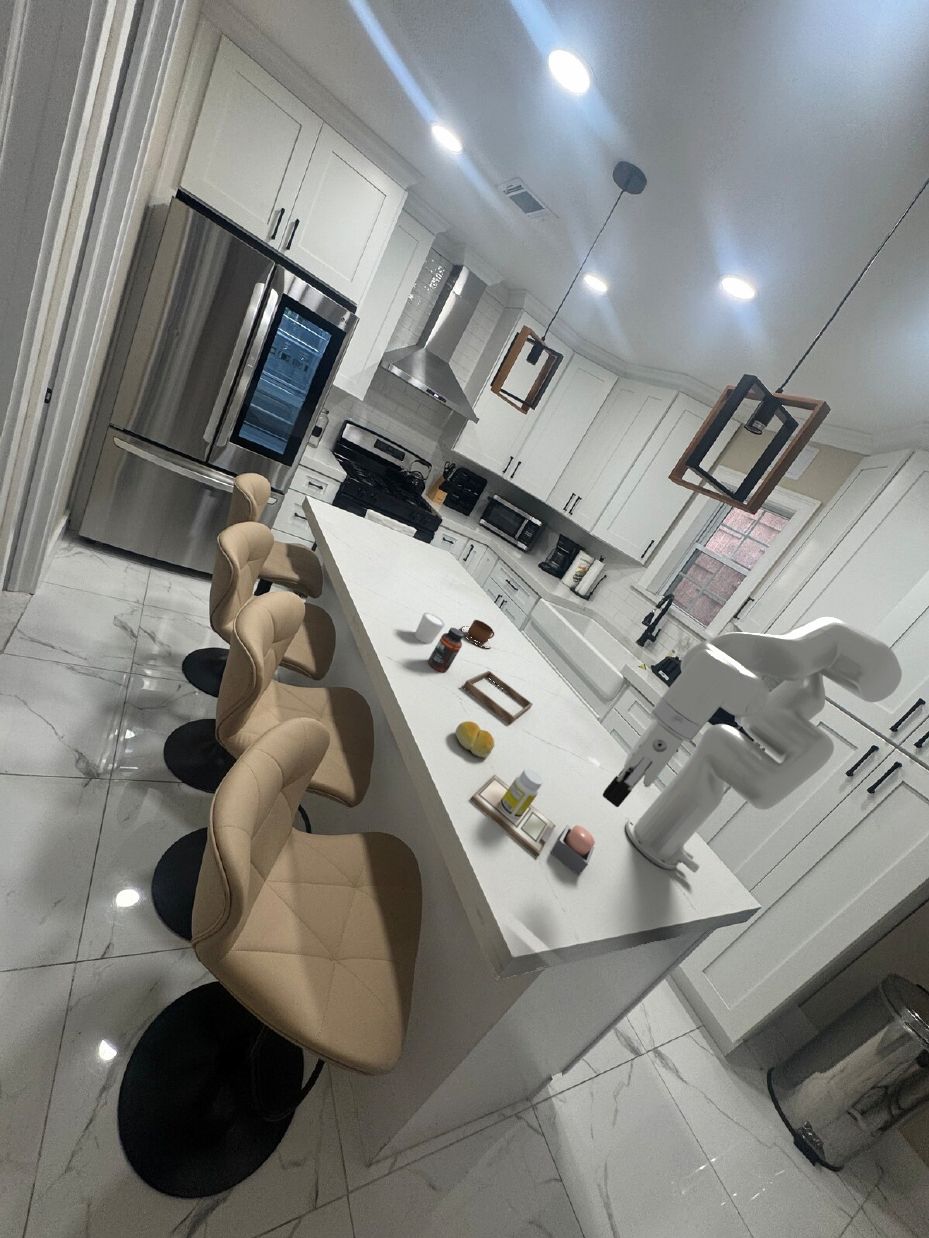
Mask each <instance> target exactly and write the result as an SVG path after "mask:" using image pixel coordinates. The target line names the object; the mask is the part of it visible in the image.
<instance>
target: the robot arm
mask: <svg viewBox="0 0 929 1238" xmlns="http://www.w3.org/2000/svg"><path fill="white" fill-rule="evenodd" d="M680 671H681V673H680V674H679V675H678V676H677V677H676V679H675V680H674V681H673V683H672V684H671V685H670V687H669V688H668V689H666V691H665V692H664V694H663V695H662V696H661V698H660V699H659V700H658V701H657V702H656V704H655V705H654V707H652V709H651V710H650V714H651V716H652V718H653V720H652V721H651V722H650V724H649V725H648V726H647V727H646V728H645V730H644V731H643V732H642V734H641V735H640V736H639V738H638V739H637V740H636V742H635V743H634V745H632V747H631V749H630V751H629V752H628V754H627V757H626V759H625V762H624V765H623V768H622V770H620V772H619V773H618V775H616V776H614V778H613V780H612V781H611V782H610V783H609V784H608V785H607V787H606V788H605V789H604V791H603V793H602V797H603V798H604V799H606V800H607V801H608V802H609V803H611V804H612V805H613V806H614V807H616V808H619V807H620V806H621V805H622V803H624V801H625V800H626V799H627V798H628V796H629V795H630V794H631V792H632V791H633V789H634V788H635V787H636V786H637V784H638V783H639V782H640V781H641V780H642V778H643V782H642V784H644V787H645V788H650V786H652V784H653V783H654V782H655V780H656V779H657V778H658V777H659V775H660V774H661V772H662V771H663V770H664V769H665V767H666V766H667V765H668V764H669V762H670V761H671V760H672V759H673V756H674V755H675V754H676V753H677V752H678V750H679V748H680V747H681V745H682V743H683V742H687V743H691V742H692V741H693V739H694V738H695V737H696V736H697V735H698V733H699V732H700V731H701V730H702V729H703V728H704V726H705V725H706V723H708V722H709V720H710V719H711V718H712V716H713V715H714V714H715V713H716V712H717V710H718V709H719V708H721V709H723V710H724V711H725V712H727V713H728V714H730V715H732V716H736V717H738V718H739V717H741V720H740V721H741V723H740V724H741V727H742V729H743V730H744V732H745V733H746V734H748V736H749V737H750V738H752V739H753V740H754V741H755V742H756V743H757V744H756V743H755V742H754V741H752V740H751V739H750V738H749V737H748V736H747V735H745V734H744V733H742V732H741V731H740V730H738V729H737V728H735V727H733V726H731V725H728V724H725V723H718V724H714V725H711V726H710V727H708V728H707V729H706V730H705V732H704V733H703V734H702V735H701V736H700V738H699V739H698V741H697V744H696V746H695V748H694V750H693V751H692V753H691V755H690V756H689V757H688V759H687V760H686V762H685V763H684V765H682V768H680V770H679V771H678V772H677V773H676V775H675V776H674V777H673V778H672V779H671V781H669V783H668V784H667V786H666V787H665V788H664V789H663V790H662V791H661V793H660V794H659V795H658V796H657V797H656V799H655V800H654V801H653V802H652V804H650V806H649V807H648V808H647V810H646V811H644V813H643V814H642V815H641V817H640V818H637V817H632V818H631V817H630V818H629V819H628V820H627V821H626V823H625V830H626V833H627V836H628V837H629V839H630V841H631V842H632V844H633V845H634V846H635V847H636V848H637V850H638V851H639V852H640V853H642V854H643V855H644V856H645V857H646V859H648V860H649V861H651V862H652V863H654V864H655V865H657V866H658V867H661V868H663V869H666V870H674V869H676V868H677V867H678V865H679V864H681V863H682V864H683V865H685V866H686V867H687V869H689V870H690V871H691V872H693V873H697V872H698V870H699V868H700V864H698V863H697V861H695V860H694V855H692V854H691V853H690V852H689V851H687V850H686V849H685V844H686V843H688V842H689V840H690V839H691V837H692V836H694V834H695V833H696V832H697V831H698V830H699V829H700V827H702V825H703V824H704V823H705V822H706V821H707V820H708V818H709V817H711V815H712V814H713V812H715V811H716V810H717V809H718V808H719V806H720V805H721V803H722V800H723V798H724V793H725V790H724V789H725V783H726V784H727V785H728V786H729V787H730V788H731V789H732V790H734V792H736V793H737V794H738V795H739V796H740V797H741V798H743V800H745V801H746V802H747V803H748V804H750V805H751V806H752V807H753V808H755V809H758V810H761V811H764V810H765V811H766V810H769V809H772V808H773V807H775V806H776V805H778V804H780V802H782V801H783V800H784V799H786V798H787V797H788V796H789V795H790V794H792V793H793V792H794V791H795V790H796V789H798V788H799V787H801V786H802V785H803V784H804V783H806V781H808V780H809V779H810V778H811V777H813V776H814V775H815V774H816V773H818V772H819V771H820V770H821V769H822V768H824V766H825V765H826V764H827V763H828V762H829V760H830V759H831V757H832V756H833V753H834V751H835V750H834V749H835V745H834V742H833V740H832V738H831V737H830V736H829V734H827V733H826V732H825V731H824V730H822V729H821V728H819V727H818V726H816V725H815V724H814V723H812V721H810V720H812V719H813V718H815V716H817V715H818V714H819V713H821V712H822V711H823V710H824V708H825V704H826V690H825V685H824V677H826V678H827V679H829V680H830V681H832V682H833V683H835V684H837V685H838V686H840V687H841V688H843V689H844V690H846V691H848V692H849V693H850V694H852V695H854V696H855V697H857V698H859V699H861V700H863V701H865V702H868V703H877V702H880V701H883V700H885V699H887V698H888V697H890V696H891V695H892V694H893V693H895V691H896V690H897V688H898V687H899V686H900V683H901V681H902V675H903V674H902V669H901V665H900V663H899V660H898V658H897V656H896V654H895V653H894V651H893V650H892V649H891V648H890V647H889V646H888V645H887V644H886V643H884V642H883V641H881V640H879V639H877V638H876V637H874V636H872V635H870V634H868V633H866V632H864V631H861V630H860V629H858V628H857V627H854V626H852V625H851V624H849V623H847V622H845V621H843V620H840V619H838V618H835V617H829V616H823V617H822V616H821V617H818V618H815V619H812V620H810V621H807V622H805V623H803V624H800V625H798V626H796V627H793V628H791V629H790V630H787V631H785V632H783V633H780V634H778V635H772V634H765V633H754V632H753V633H751V632H740V631H739V632H736V631H732V632H723V633H722V634H718V635H715V636H713V637H710V638H709V639H706V640H704V641H702V642H699V643H698V644H696V645H694V646H693V647H692V648H690V649H689V650H688V651H687V652H686V653H685V654H684V656H683V658H682V660H681V662H680ZM752 671H754V672H756V673H759V674H762V675H765V676H767V677H771V678H774V679H778V680H782V682H781V683H780V684H778V686H776V687H775V688H774V689H772V690H771V691H770V692H769V688H768V686H767V685H766V683H765V682H764V681H763V680H762V679H761V678H760V677H759V676H758V675H756V674H755V673H753V672H752ZM758 744H759V745H760V746H761V747H762V748H764V749H765V750H766V751H767V752H769V753H770V754H771V755H769V754H768V753H767V752H766V751H764V749H762V748H761V747H760V746H759V745H758ZM772 756H774V757H775V758H776V759H777V760H778V761H777V760H776V759H774V758H773V757H772ZM779 761H780V762H779Z"/></svg>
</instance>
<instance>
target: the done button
mask: <svg viewBox="0 0 929 1238" xmlns="http://www.w3.org/2000/svg"><path fill="white" fill-rule="evenodd" d="M571 829H572V830H571V831H570V833H569V834H568V835H567V837H566V838H565V843H566V844H567V845H568V846H569V847H570V848H572V849H573V850H574V851H575V852H576V853H578V854H579V855H580V856H581V857H582V858H583V857H585V855H586V854H587V853H588V852H589V850H590V849H591V848H592V847H595V843H596V842H595V838H594V837H593V835H592V834H591V833H590V832H589V830H587V829H586V828H584V827H583V826H581V825H574V826H573V827H572V828H571Z"/></svg>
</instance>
